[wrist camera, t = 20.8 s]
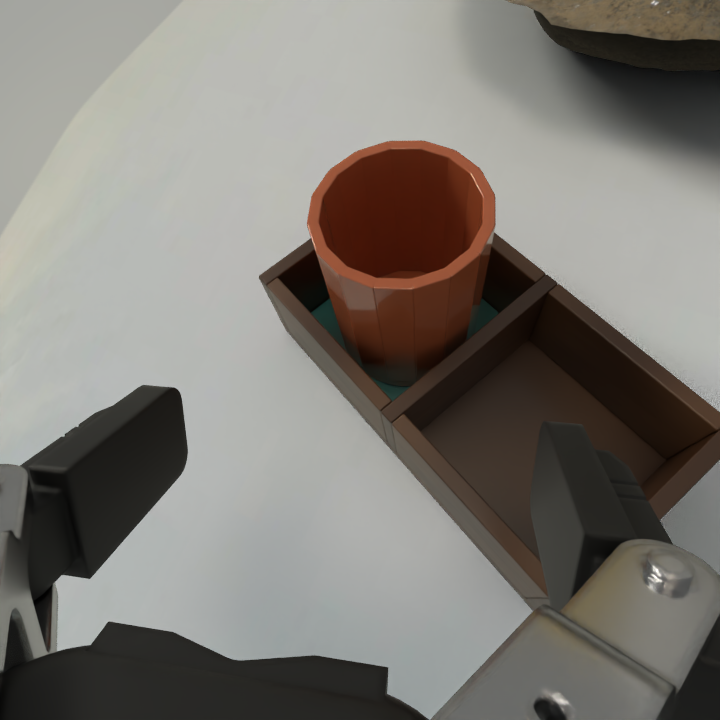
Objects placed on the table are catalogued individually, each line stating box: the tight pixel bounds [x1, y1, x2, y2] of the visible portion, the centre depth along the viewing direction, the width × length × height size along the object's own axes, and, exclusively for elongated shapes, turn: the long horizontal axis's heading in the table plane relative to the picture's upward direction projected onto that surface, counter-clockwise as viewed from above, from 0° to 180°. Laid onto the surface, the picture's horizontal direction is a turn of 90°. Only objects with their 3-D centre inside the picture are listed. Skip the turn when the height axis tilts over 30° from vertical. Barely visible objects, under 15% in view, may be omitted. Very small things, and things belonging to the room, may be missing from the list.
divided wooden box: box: [259, 233, 720, 610], centre depth 21 cm, size 16×8×5 cm, turn 39°
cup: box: [307, 141, 496, 386], centre depth 20 cm, size 6×6×8 cm
